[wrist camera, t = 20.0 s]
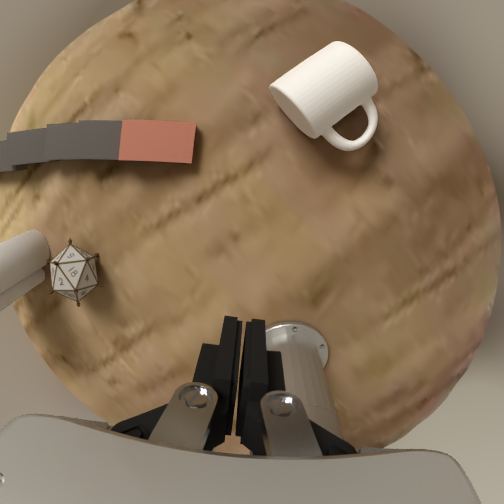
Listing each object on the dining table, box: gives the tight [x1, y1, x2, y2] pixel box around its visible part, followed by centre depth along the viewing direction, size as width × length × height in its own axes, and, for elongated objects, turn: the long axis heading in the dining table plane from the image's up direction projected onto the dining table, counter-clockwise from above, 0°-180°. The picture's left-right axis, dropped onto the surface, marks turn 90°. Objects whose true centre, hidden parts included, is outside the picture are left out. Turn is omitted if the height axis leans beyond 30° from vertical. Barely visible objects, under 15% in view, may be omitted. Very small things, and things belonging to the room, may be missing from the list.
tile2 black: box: [75, 120, 123, 160], centre depth 33 cm, size 5×2×9 cm
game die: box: [46, 238, 103, 307], centre depth 36 cm, size 9×8×10 cm
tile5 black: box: [0, 140, 23, 172], centre depth 33 cm, size 5×2×9 cm
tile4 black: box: [6, 128, 59, 166], centre depth 32 cm, size 5×2×9 cm
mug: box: [269, 41, 378, 151], centre depth 30 cm, size 12×10×8 cm
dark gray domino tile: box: [44, 123, 79, 160], centre depth 33 cm, size 5×2×9 cm
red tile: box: [119, 119, 196, 163], centre depth 33 cm, size 5×2×9 cm
